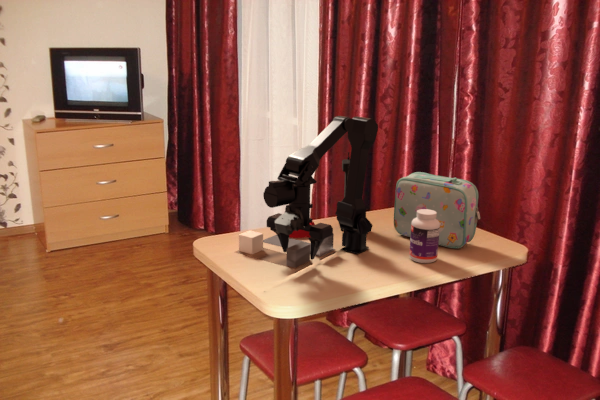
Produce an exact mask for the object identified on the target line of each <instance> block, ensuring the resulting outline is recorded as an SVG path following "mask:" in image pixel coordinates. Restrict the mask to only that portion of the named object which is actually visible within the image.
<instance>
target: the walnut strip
mask: <svg viewBox="0 0 600 400" xmlns="http://www.w3.org/2000/svg"><path fill="white" fill-rule="evenodd" d="M304 242H305V241H304ZM304 242H300V243H298V244H296V245H293V246H291V247H289V248H287V252H282V251H281V252H280V251H278V250H277V251H276V250H273V249H271V248H270V249H269V248H267V247H263V250H262V251H259V252H257V253H255V254H248V253H245V252H241V251H239V249H237V250H235V251H234V253H237V254H240V255H243V256H247V257H250V258H254V259H257V260H261V261H265V262H268V263H271V264H276V265H280V266H283V267H286V268H290V269H292V270H293V269H294V270H296V271H294V273H298V272H300V271H302V270H303V269H306V268H307V267H310V266H312V265H313V263H311V262H312V260H311V256H310V244H308V243H309V242H308V243H304ZM305 265H306V266H305ZM303 266H304V267H303ZM301 267H302V268H301ZM299 268H300V269H299ZM297 269H298V270H297Z"/></svg>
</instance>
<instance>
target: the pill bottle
mask: <svg viewBox="0 0 600 400" xmlns="http://www.w3.org/2000/svg"><path fill="white" fill-rule="evenodd" d="M436 215H437V212H436V211H434V210H429V209H420V210H417V217H416V218H414V219H413V220H412V223H411V236H410V237H409V238H410V239H409V250H408V251H409V252H408V253H409V254H408V257H409V258H410V259H411V260H412V261H414V262H416V263H420V264H430V263H433V262H435V261H437V259H438V255H439V245H438V243H439V231H440V223H439V221H438V220H437V219H435V218H436Z"/></svg>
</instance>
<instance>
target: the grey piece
mask: <svg viewBox="0 0 600 400" xmlns="http://www.w3.org/2000/svg"><path fill="white" fill-rule="evenodd" d="M334 236H335V235H334V232H333V235H331V236H329V237H327V238H325V239H324V240H323V242H322V244H321V245H320V247H319V249H318V251H317V254H316V256H315V257H319V258H320V259H319V261H321V260H324V259H325V258H328V257H329V256H331V255H333V254H335V253H336V251H335V250H336V249H335V248H334ZM300 242H304V243H308V244H310V249H311V242H309V241H305V240H304V241H303V240H298V239H297V238H291V237H289V243H288V248H289V247H291V246H293V245H296V244H298V243H300ZM263 243H265V244H268V245H269V244H270V245H273V246H276V247H280V248H282V246H281V243H280V240H279V238H278V236H277V234H274V235H272V236H269V237H268V238H264V239H263ZM331 252H332V253H331ZM327 254H328V255H327ZM325 255H326V256H325Z"/></svg>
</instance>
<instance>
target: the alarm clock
mask: <svg viewBox="0 0 600 400" xmlns="http://www.w3.org/2000/svg"><path fill="white" fill-rule="evenodd" d="M310 225H316V224H315V221H313V220H312V222H311V223H310ZM310 237H311V236H310V235H309V232H308V231H304V230H300V229H299V230H298V231H295V230H294V231H293V233H292V234H290V235H289V238H292V239H305V238H310Z"/></svg>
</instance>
